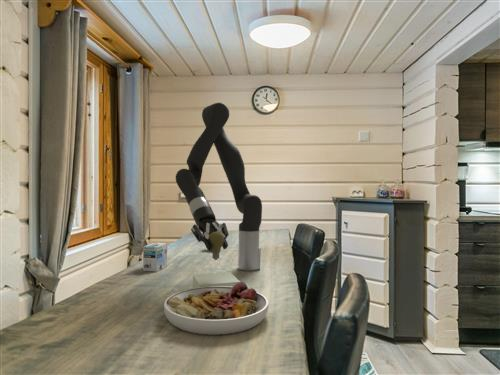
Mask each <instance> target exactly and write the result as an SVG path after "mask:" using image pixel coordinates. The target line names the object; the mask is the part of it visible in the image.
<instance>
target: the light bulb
mask: <svg viewBox="0 0 500 375" xmlns="http://www.w3.org/2000/svg"><path fill="white" fill-rule="evenodd" d="M208 239H210V241H211V244H212V246H213V249H212V250H211V251H210V252H211V254H212V259H213V260H214V261H217V260H219V258H220V254H221V249H222V248H223V247H222V245H223V243H224V237H223V235H222V234H221V233H220V232H218V231H217V232H212V233H211V234H210V235H209V238H208Z"/></svg>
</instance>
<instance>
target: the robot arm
mask: <svg viewBox="0 0 500 375" xmlns="http://www.w3.org/2000/svg"><path fill="white" fill-rule="evenodd" d="M201 117H202V121H203V123H204V126H205V129H204V130H203V132H202V133H201V135H199V137H198V138H197V140H196V141H195V143H194V145H193V146H192V147H191V150H190V152H189V153H188V157H187V158H186V165H187V167H188V168H181V169H179V170H178V171H177V172H176V174H175V182H176V185H177V186H178V188H179V190H180V191H181V193H182V194H183V196H184V198H185V200H186V203H187V205H188V207H189V211H190V214H191V215H192V218H193V220H194V223H195V224H193V225H192V226H191V229H190V230H191V233H192V234H193V235H194V237H195V239H196V240H197V242H202V243H204V245H205V246H204V247H205V248H206V249H207V250H208V251H209V252H212V251H211V250H212V249H213V246H212V244H211V241H210V239H208V238H209V235H210V234H211V233H212V232H220V233H221V234H222V235H223V237H224V243H223V245H222V247H221V248H222V249H223V250H227V248H228V247H229V242H228V241H227V238H228V237H229V231H228V227H227V225H226V223H225V222H222V223H219V222H218V221H217V219H216V215H215V214H214V211H213V209H212V207H211V205H210V203H209V201H208V199H207V198H206V196H205V194H204V192H203V190H202V189H201V187H199V186H200V184H201V181H202V175H203V168H204V165H205V164H206V161H207V158H208V156H209V154H210V151H211V149H212V147H213V145H214V147H215V149H216V153H217V154H218V157H219V161H220V163H221V165H222V168H223V171H224V173H225V175H226V179H227V181H228V183H229V185H230V189H231V191H232V195H233V198H234V202H235V206H236V208H237V210H238V211H239V213H241V214H242V220H241V222H240V223H239V224H238V262H237V266H238V267H237V268H238V270H242V271H246V272H247V271H257V270H261V253H262V252H261V250H262V249H261V247H260V227H261V225H262V218H263V217H262V213H263V203H262V200H261V198H260V196H258V195H255V194H251V193H250V191H249V189H248V186H247V183H246V177H245V174H246V172H245V171H246V170H245V169H246V168H245V163H244V159H243V156H242V154H241V152H240V150H239V149H238V147H237V146H236V145H235V143H234V142H232V141H231V139H230V138H229V137H228V135H227V133H226V131H225V129H224V126H225V125H226V124H227V122H228V120H229V117H230V110H229V107H228V106H227V104H225V103H223V102H219V101H218V102H215V103H212V104H210V105H207V106H205V107H203V110H202V112H201Z"/></svg>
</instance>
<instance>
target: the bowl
mask: <svg viewBox="0 0 500 375" xmlns="http://www.w3.org/2000/svg"><path fill="white" fill-rule="evenodd" d="M268 310H269V300H268V298H267V297H266V296H265V295H264V294H262V293H260V292H257V291H256V289H255V288H252V287H251V288H248V285H247V284H246V283H245V282H244V281H240V282H238V283H237V284H235V285H234V287H229V286H208V287H198V288H193V287H192V288H188V289H184V290H180V291H178V292H175V293H173V294H171V295H169V296H168V297H167V298H166V299H165V300H164V302H163V312H164V315H165V317H166V318H167V320H168V321H169V322H170V323H171V324H172V325H173V326H174V327H176V328H178V329H180V330H183V331H185V332H188V333H193V334H197V333H198V334H197V335H206V334H207V335H210V336H217V335H220V334H222V335H229V334H230V333H231V334H235V333H236V332H237V333H241V332H243V331H247V330H249V329H252V328H254V327H255V326H257V325H258V324H260V323H261V322H262V321H263V320H264V319H265V318H266V316H267V314H268ZM237 333H236V334H237ZM207 335H206V336H207Z"/></svg>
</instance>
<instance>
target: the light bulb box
mask: <svg viewBox="0 0 500 375" xmlns="http://www.w3.org/2000/svg"><path fill="white" fill-rule="evenodd" d="M142 250H143V258H142V260H143V268H142V270H143V272H155V273H157V272H159V271H162V270H163V269H165V268H167V267H168V243H167V242H166V243H165V242H153V243H150V244H146V245H144V246H143V248H142Z"/></svg>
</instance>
